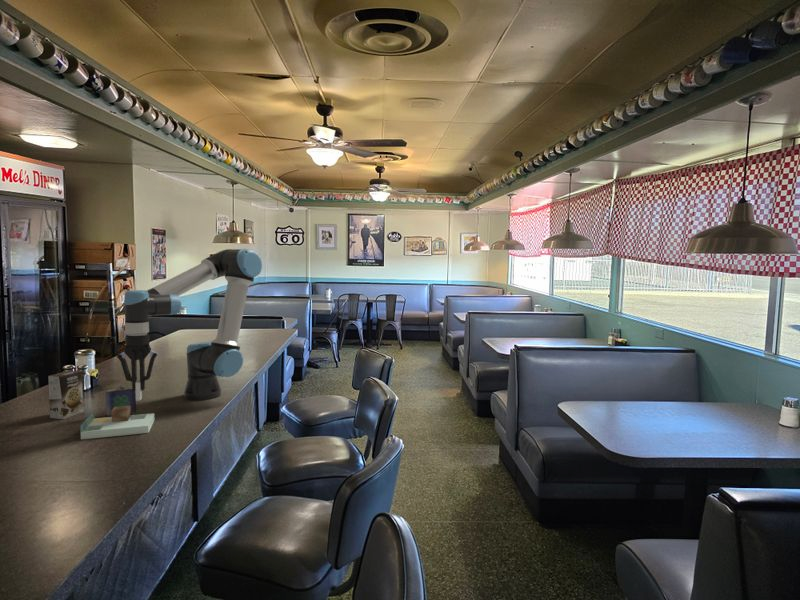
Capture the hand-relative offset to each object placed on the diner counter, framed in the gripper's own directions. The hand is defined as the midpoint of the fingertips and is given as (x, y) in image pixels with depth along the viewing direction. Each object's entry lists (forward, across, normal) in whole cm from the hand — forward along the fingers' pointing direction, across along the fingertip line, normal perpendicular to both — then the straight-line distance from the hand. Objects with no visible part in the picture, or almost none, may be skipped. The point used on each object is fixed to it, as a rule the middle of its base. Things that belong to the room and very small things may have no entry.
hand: (138, 399), depth 177 cm
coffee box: (+9, +28, -19) cm, 35 cm away
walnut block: (+7, +6, 0) cm, 9 cm away
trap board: (+9, +6, +4) cm, 11 cm away
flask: (+9, +8, -15) cm, 20 cm away
